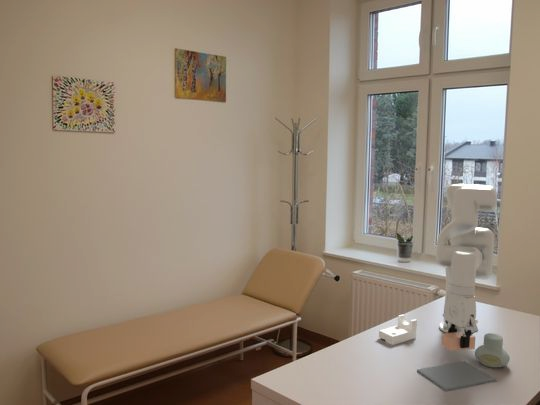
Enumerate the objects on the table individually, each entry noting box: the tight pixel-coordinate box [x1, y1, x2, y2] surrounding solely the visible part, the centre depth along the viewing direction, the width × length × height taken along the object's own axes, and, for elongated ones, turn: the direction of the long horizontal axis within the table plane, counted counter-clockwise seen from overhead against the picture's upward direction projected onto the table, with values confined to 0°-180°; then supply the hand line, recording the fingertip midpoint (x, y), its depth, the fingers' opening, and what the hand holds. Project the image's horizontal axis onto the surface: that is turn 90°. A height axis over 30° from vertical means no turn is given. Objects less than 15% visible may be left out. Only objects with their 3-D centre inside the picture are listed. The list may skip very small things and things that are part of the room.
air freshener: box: [474, 333, 511, 369], centre depth 171 cm, size 11×8×10 cm
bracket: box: [378, 314, 418, 346], centre depth 192 cm, size 13×7×8 cm, turn 123°
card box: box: [441, 332, 476, 351], centre depth 161 cm, size 4×9×4 cm, turn 101°
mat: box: [416, 360, 497, 392], centre depth 163 cm, size 20×14×1 cm
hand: (458, 343), depth 161 cm, fingers closed on card box, 5 cm apart
